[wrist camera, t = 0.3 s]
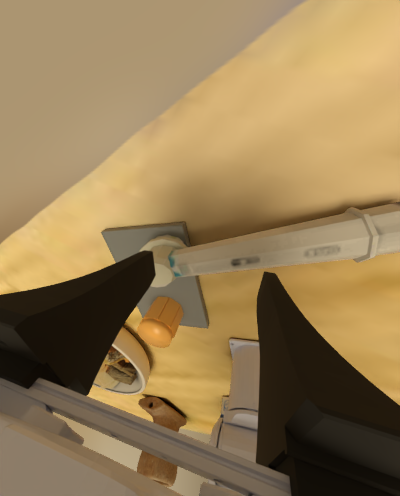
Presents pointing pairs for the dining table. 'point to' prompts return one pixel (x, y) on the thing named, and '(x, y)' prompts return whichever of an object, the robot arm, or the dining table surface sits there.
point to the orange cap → (160, 322)
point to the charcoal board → (180, 290)
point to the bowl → (124, 366)
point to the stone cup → (150, 463)
